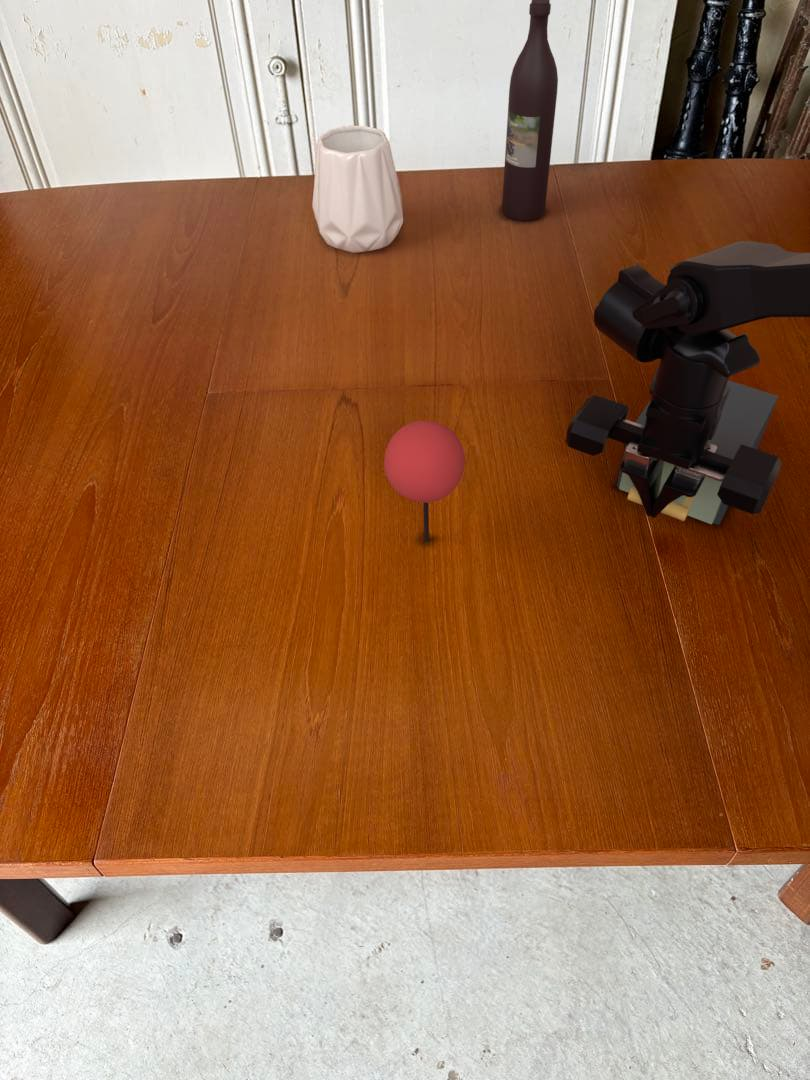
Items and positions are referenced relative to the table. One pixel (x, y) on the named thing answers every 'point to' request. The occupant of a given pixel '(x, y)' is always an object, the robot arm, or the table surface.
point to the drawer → (683, 498)
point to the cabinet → (736, 424)
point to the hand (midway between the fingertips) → (652, 513)
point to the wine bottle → (530, 121)
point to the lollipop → (424, 463)
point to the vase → (356, 189)
